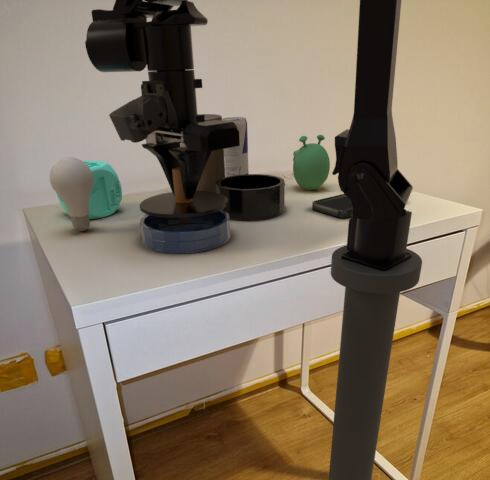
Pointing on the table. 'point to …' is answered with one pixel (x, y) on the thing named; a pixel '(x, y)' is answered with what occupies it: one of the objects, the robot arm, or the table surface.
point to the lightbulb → (73, 188)
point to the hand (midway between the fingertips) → (183, 197)
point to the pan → (185, 233)
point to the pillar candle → (212, 164)
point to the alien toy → (311, 164)
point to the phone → (334, 206)
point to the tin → (252, 196)
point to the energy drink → (237, 150)
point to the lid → (183, 202)
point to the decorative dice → (102, 190)
